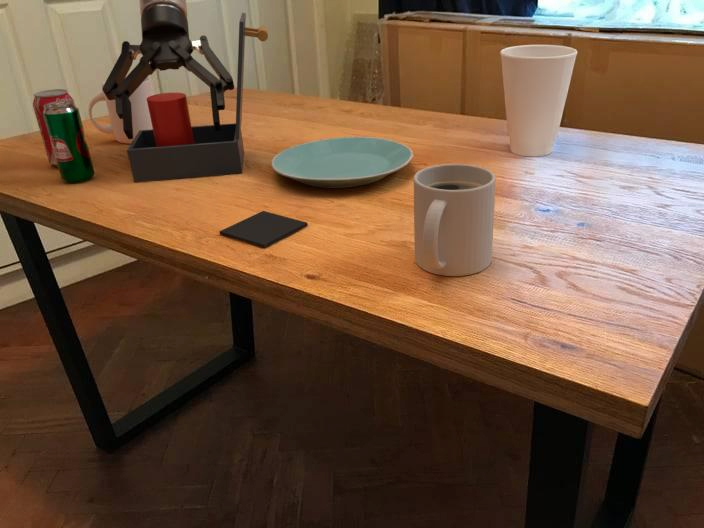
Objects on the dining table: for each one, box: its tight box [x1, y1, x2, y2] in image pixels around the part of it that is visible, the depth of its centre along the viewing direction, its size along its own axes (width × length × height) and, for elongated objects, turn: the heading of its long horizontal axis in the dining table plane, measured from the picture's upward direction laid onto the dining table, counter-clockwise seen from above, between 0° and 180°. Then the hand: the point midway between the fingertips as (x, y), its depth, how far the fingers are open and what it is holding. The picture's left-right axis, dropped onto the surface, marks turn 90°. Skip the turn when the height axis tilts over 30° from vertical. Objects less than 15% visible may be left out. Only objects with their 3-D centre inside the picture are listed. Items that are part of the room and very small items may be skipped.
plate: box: [270, 136, 414, 189], centre depth 104 cm, size 22×22×3 cm
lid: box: [235, 12, 269, 139], centre depth 104 cm, size 17×12×4 cm
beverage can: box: [32, 88, 76, 167], centre depth 111 cm, size 6×6×12 cm
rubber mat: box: [219, 210, 308, 249], centre depth 85 cm, size 8×8×1 cm
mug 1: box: [87, 76, 155, 145], centre depth 123 cm, size 9×12×11 cm
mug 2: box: [413, 163, 497, 277], centre depth 73 cm, size 11×10×10 cm
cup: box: [499, 44, 578, 158], centre depth 107 cm, size 12×12×16 cm
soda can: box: [43, 101, 96, 184], centre depth 103 cm, size 5×5×12 cm
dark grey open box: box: [126, 122, 245, 183], centre depth 108 cm, size 17×12×5 cm
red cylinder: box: [147, 92, 195, 147], centre depth 107 cm, size 6×6×11 cm
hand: (173, 131), depth 105 cm, fingers open, 13 cm apart
